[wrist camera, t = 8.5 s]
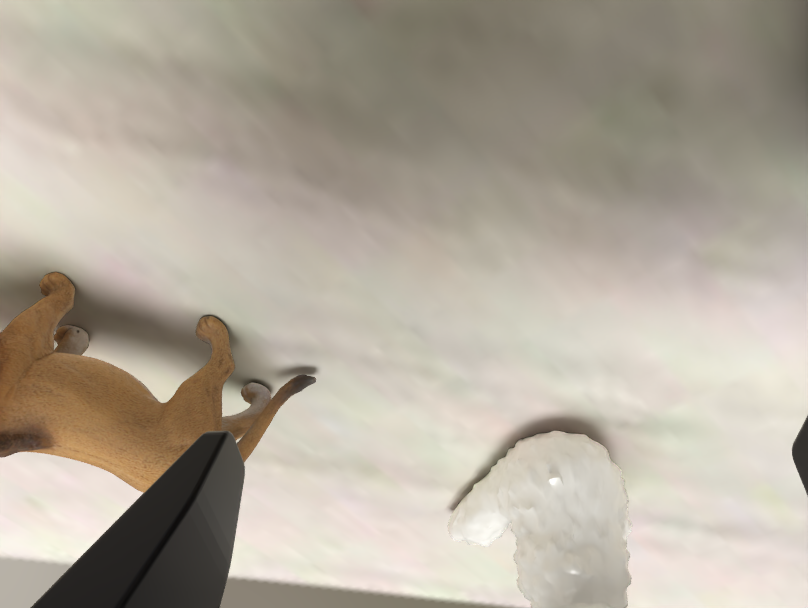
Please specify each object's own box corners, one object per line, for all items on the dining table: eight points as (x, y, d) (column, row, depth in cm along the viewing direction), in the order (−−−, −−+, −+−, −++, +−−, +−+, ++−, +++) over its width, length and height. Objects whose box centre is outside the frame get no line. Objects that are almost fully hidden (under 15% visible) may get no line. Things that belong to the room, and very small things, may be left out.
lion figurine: (-24, 347, 24) (-215, 539, 17) (-54, 244, 21) (-302, 425, 14) (310, 408, 26) (267, 605, 19) (328, 321, 23) (285, 518, 16)
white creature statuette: (445, 516, 31) (458, 798, 21) (459, 408, 26) (483, 716, 16) (615, 522, 31) (706, 807, 21) (662, 416, 26) (810, 727, 16)
